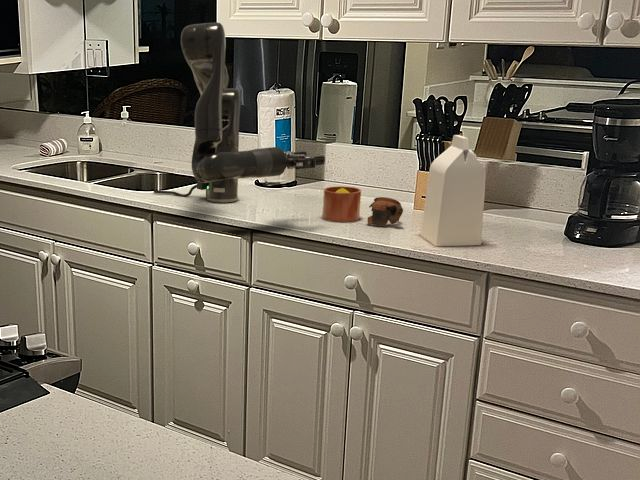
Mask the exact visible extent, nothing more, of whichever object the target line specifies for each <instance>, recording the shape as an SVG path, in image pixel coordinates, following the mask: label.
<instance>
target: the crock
mask: <svg viewBox="0 0 640 480" xmlns="http://www.w3.org/2000/svg"><path fill="white" fill-rule="evenodd" d="M341 188H344V189H345V190H347V191H348V192H349V193H335V192H336V191H337V190H339V189H341ZM361 199H362V189H361V188H358V187H354V186H343V185H342V186H341V185H339V186H329V187H325V188H324V189H323V199H322V215H321V216H322V219H323V220H325V221H328V222H335V223H351V222H356V221H358V220H360V215H361Z"/></svg>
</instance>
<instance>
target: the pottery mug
mask: <svg viewBox="0 0 640 480" xmlns="http://www.w3.org/2000/svg"><path fill="white" fill-rule="evenodd" d="M368 208H370V211H371V212H372V213H371V215H370V216H367V223H366V224H367V226H368V225H376V226H379V227H384V228H386V227H387V225H388V222H389V223H390V224H391V225H395V224H396V223H397V222H399V221H400V219H401V217H402V215H403V213H404V208H403V206H402V204H401V202H400V201H399V200H397V199H395V198H391V197H387V196H386V197H385V196H379V197H375V198H374V199H373V202H372V203H371V204H370V205H369V206H368Z"/></svg>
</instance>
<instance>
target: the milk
mask: <svg viewBox="0 0 640 480" xmlns="http://www.w3.org/2000/svg"><path fill="white" fill-rule="evenodd" d="M469 147H470V145H469V138H468V137H466V136H463V135H461V134H453V136H452V141H451V145H450V146H449V147H448V148H446V149H445V150H444V151H442V152H441V154H439V155H438V156H437V157H436V158H435V159H434V160H433V161H432V162H431V164H430V166H429V172H428V177H427V178H428V179H427V185H426V192H425V199H424V206H423V213H422V220H421V225H420V234H419V235H420V236H421V237H422V238H423V239H425V240H426V241H428V242H429V243H430V244H432V245H433V246H435V247H459V246H461V247H462V246H463V247H465V246H481V245H482V234H483V223H484V210H485V209H484V206H485V195H486V180H487V179H486V178H487V171H486V167H484V165H483V164H482V163H481V162H480V160H478V159H477V158H478V156H477V154H476V153H475V152H474V151H473V150H472V149H470V148H469Z"/></svg>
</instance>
